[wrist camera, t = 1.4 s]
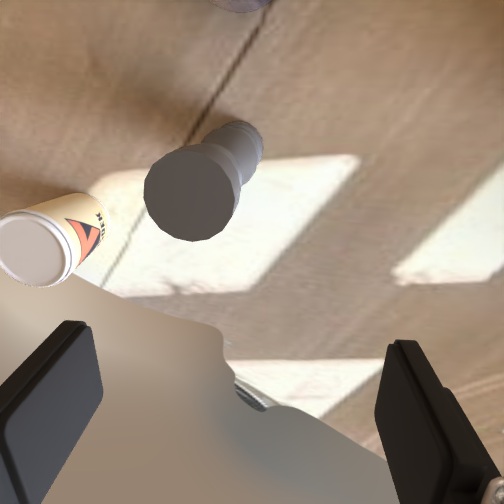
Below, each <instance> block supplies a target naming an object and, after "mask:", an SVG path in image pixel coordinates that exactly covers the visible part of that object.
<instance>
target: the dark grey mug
mask: <svg viewBox="0 0 504 504" xmlns="http://www.w3.org/2000/svg"><path fill="white" fill-rule="evenodd" d="M210 1H211V2H212V3H213V4H215V5H216V6H218V7H220V8H222V9H224V10H227V11H230V12H236V13H245V12H251V11H254V10H257V9H259V8H261V7H263V6H265V5H266V4H267V3H269V2H270V1H271V0H210Z"/></svg>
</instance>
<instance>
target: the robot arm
mask: <svg viewBox="0 0 504 504" xmlns="http://www.w3.org/2000/svg"><path fill="white" fill-rule="evenodd" d="M102 397H103V386H102V381H101V376H100V371H99V365H98V360H97V355H96V350H95V345H94V340H93V334H92V330H91V328H90V327H89V326H87V325H86V323H85V322H83V321H70V320H66V321H63V322H62V323H61V324H60V325H59V326H58V327H57V328H56V329H55V330H54V331H53V332H52V334H50V335H49V337H48V338H47V339H46V340H45V341H44V342H43V343H42V344H41V345H40V346H39V347H38V348H37V349H36V350H35V351H34V352H33V353H32V354H31V355H30V356H29V357H28V358H27V359H26V360H25V361H24V362H23V363H22V364H21V365H20V366H19V367H18V368H17V369H16V370H15V371H14V372H13V373H12V374H11V375H10V376H9V377H8V379H6V381H5V382H4V383H3V384H2V385H1V386H0V504H41V502H42V501H43V499H44V497H45V496H46V494H47V492H48V490H49V489H50V487H51V485H52V484H53V482H54V480H55V479H56V477H57V475H58V473H59V472H60V470H61V468H62V467H63V465H64V463H65V462H66V460H67V458H68V457H69V455H70V453H71V452H72V450H73V448H74V446H75V445H76V443H77V441H78V440H79V438H80V436H81V435H82V433H83V431H84V430H85V428H86V426H87V424H88V423H89V421H90V419H91V418H92V416H93V414H94V412H95V411H96V409H97V408H98V406H99V404H100V402H101V400H102ZM374 414H375V421H376V425H377V428H378V432H379V435H380V438H381V442H382V445H383V448H384V452H385V455H386V459H387V462H388V465H389V469H390V472H391V475H392V479H393V482H394V485H395V489H396V492H397V495H398V499H399V502H400V504H504V477H502V476H501V474H500V472H499V471H498V469H497V467H496V466H495V464H494V462H493V461H492V459H491V457H490V455H489V454H488V452H487V450H486V449H485V447H484V445H483V444H482V442H481V440H480V439H479V437H478V435H477V433H476V432H475V430H474V428H473V427H472V425H471V423H470V422H469V420H468V418H467V417H466V415H465V413H464V411H463V410H462V408H461V406H460V405H459V403H458V401H457V400H456V398H455V396H454V395H453V393H452V392H451V391H450V390H449V389H448V388H445V387H443V386H442V384H441V382H440V381H439V379H438V377H437V375H436V374H435V372H434V370H433V368H432V367H431V365H430V363H429V361H428V360H427V358H426V356H425V354H424V353H423V351H422V349H421V347H420V346H419V344H418V342H417V341H415V340H395V342H394V344H389V345H388V348H387V352H386V357H385V362H384V367H383V372H382V376H381V381H380V386H379V391H378V395H377V400H376V405H375V412H374Z"/></svg>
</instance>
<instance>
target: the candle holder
mask: <svg viewBox="0 0 504 504" xmlns="http://www.w3.org/2000/svg"><path fill="white" fill-rule="evenodd" d="M262 152H263V142H262V137H261V136H260V134H259V132H258V131H257V129H256V128H254V127H253V126H252V125H250V124H249V123H246V122H241V121H236V122H231V123H228V124H225V125H224V126H222V127H221V128H218V129H214V130H213V131H212V132H210V133H209V134H207V135H206V136H205V137H204V138H203V140H202V142H201V144H195V145H190V146H185V147H181V148H179V149H177V150H174V151H172V152H170V153H168V154H166V155H165V156H164V157H162V158H161V159H160V160H158V161H157V162H156V163H154V164H153V165H152V167H151V169H150V171H149V173H148V175H147V176H146V178H145V182H144V197H143V198H144V201H145V204H146V207H147V210H148V213H149V215H150V217H151V218H152V219H153V220H154V222H155V223H156V224H157V225H158V227H159V228H160V229H161V230H163V231H165V232H166V233H168V234H169V235H171V236H173V237H174V238H177V239H181V240H186V241H191V242H194V241H200V240H206V239H210V238H211V237H213V236H214V235H216V234H218V233H219V232H221V231H222V230H223V229H224V228H225V226H226V225H227V223H228V222H229V220H230V219H231V217H232V215H233V213H234V211H235V209H236V207H237V204H238V201H239V196H240V191H241V186H242V185H243V184H245V183H246V182H248V181H249V180H250V178H251V177H252V175H253V174H254V172H255V171H256V166H257V165H258V163H259V162H260V160H261V157H262Z"/></svg>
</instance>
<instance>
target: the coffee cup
mask: <svg viewBox="0 0 504 504" xmlns="http://www.w3.org/2000/svg"><path fill="white" fill-rule="evenodd" d="M109 231H110V217H109V214H108V212H107V210H106V208H105V207H104V205H103V204H102V203H101V202H100V201H98V200H97V199H96V198H94V197H92V196H90V195H88V194H84V193H73V194H69V195H65V196H62V197H58V198H55V199H52V200H49V201H46V202H42V203H39V204H36V205H33V206H30V207H27V208H24V209H20V210H15V211H11V212H9V213H7V214H5V215H3V216H2V217H1V218H0V267H1V268H2V269H3V270H4V271H5V272H6V273H7V274H8V275H9V276H11V277H12V278H13V279H15V280H17V281H18V282H21V283H23V284H25V285H28V286H33V287H48V286H53V285H57V284H59V283H60V282H62V281H64V280H65V279H66V278H67V277H68V276H69V275H70V274H71V272H72V271H73V270H74V269H75V268H76V267H77V266H78V265H79V264H80V263H81V262H82V261H83V260H84V259H85V258H86V257H87V256H88V255H89V254H90V253H91V252H92V251H93V250H94V249H95V248H96V247H97V246H98V245H100V244H101V242H102V241H103V240H104V239H105V238H106V237H107V235H108V233H109Z"/></svg>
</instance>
